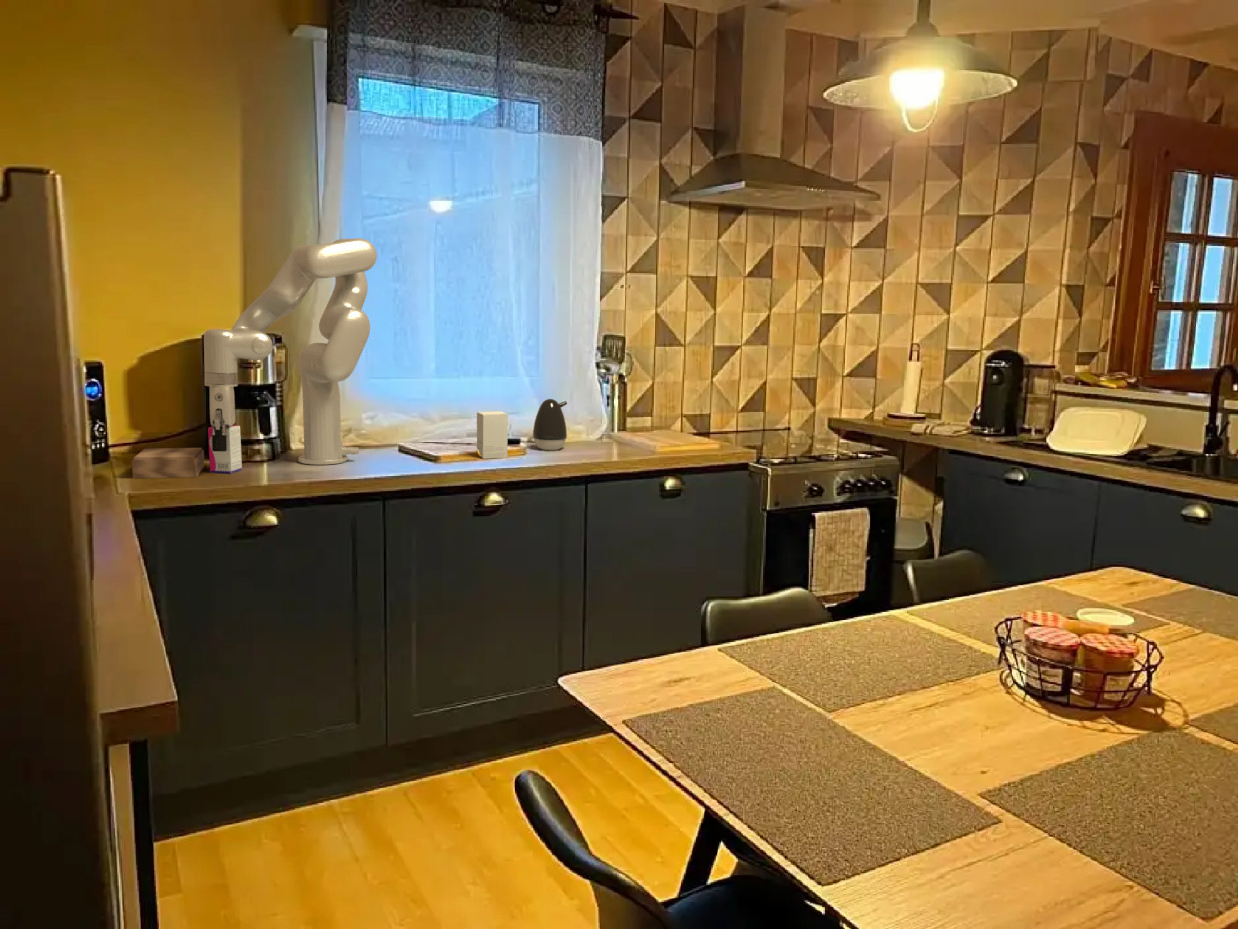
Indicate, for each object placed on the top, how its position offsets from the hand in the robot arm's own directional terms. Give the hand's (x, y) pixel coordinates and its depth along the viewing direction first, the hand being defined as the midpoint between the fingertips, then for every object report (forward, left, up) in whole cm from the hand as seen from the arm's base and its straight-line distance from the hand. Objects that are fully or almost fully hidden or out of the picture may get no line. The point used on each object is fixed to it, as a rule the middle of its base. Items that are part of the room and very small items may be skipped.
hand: (222, 448), depth 241 cm
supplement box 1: (-1, 0, -6) cm, 6 cm away
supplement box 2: (-70, -15, -6) cm, 72 cm away
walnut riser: (+12, 0, -6) cm, 14 cm away
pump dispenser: (-89, -26, -6) cm, 93 cm away
